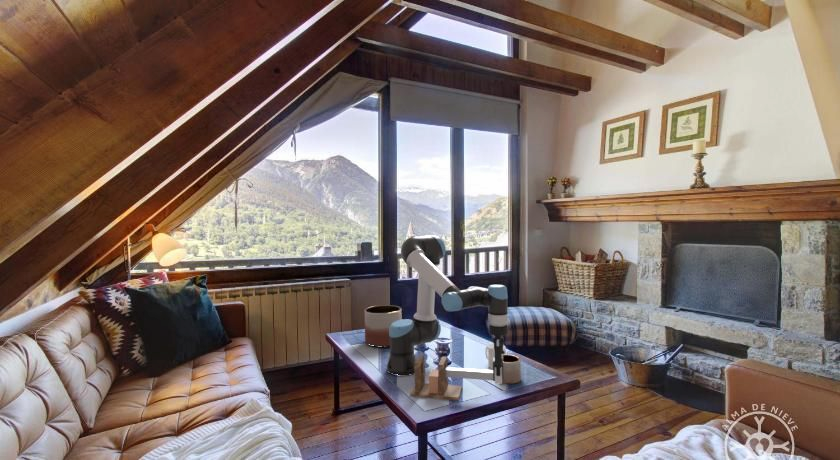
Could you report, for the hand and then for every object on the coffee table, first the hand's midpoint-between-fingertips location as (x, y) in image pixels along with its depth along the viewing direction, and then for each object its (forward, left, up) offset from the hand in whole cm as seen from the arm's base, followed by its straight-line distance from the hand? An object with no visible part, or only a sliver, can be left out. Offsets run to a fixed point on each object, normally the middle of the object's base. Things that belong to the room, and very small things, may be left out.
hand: (499, 376), depth 158 cm
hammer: (-10, 0, -1) cm, 10 cm away
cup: (-4, +34, -9) cm, 35 cm away
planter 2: (+3, +19, -9) cm, 21 cm away
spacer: (-26, 0, -7) cm, 27 cm away
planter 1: (-70, +60, -9) cm, 93 cm away
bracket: (-26, 0, -9) cm, 27 cm away
